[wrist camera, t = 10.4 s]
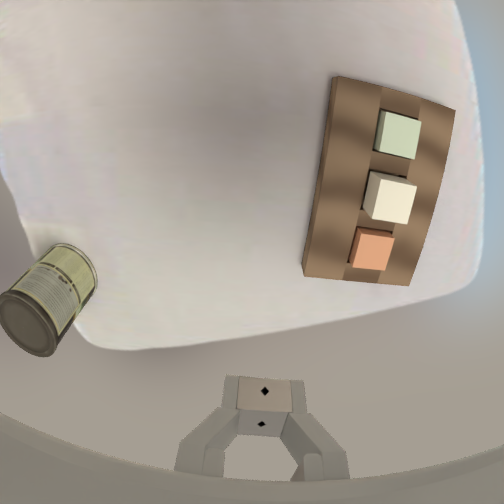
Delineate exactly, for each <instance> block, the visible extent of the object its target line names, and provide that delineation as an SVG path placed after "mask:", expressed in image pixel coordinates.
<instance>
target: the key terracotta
mask: <svg viewBox="0 0 504 504" xmlns="http://www.w3.org/2000/svg"><path fill="white" fill-rule="evenodd" d="M394 239H395V238H394V237H393V235H392V234H391V233H390V232H389V231H388V230H382V229H375V228H369V227H362V226H356V228H355V232H354V237H353V241H352V244H351V248H350V252H349V256H348V259H349V261H350V263H351V265H352V267H355V268H364V269H374V270H383V271H385V269H386V265H387V262H388V259H389V256H390V253H391V250H392V246H393V243H394Z"/></svg>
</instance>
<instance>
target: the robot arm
mask: <svg viewBox="0 0 504 504" xmlns="http://www.w3.org/2000/svg"><path fill="white" fill-rule="evenodd" d="M237 434H239V435H257V436H269V437H280V439H281V440H282V442H283V444H284V445H285V446H286V448H287V449H288V451H289V452H290V454H291V455H292V457H293V458H294V460H295V461H296V463H297V464H298V467H297V469H296V471H295V473H294V474H293V476H292V478H291V480H290V481H259V480H243V479H232V478H223V472H224V461H225V452H224V450H225V449H226V448H227V447H228V446H229V444H230V443H231V442H232V441H233V440H234V438H235V437H236V436H237ZM0 504H504V445H502V446H499V447H496V448H493V449H491V450H488V451H484V452H481V453H478V454H475V455H472V456H469V457H465V458H461V459H458V460H454V461H450V462H447V463H443V464H438V465H434V466H430V467H425V468H420V469H416V470H411V471H405V472H400V473H393V474H387V475H380V476H372V477H364V478H353V479H350V475H349V468H348V461H347V455H346V451H345V450H344V449H343V448H342V447H341V446H340V445H339V444H338V443H337V442H336V441H335V440H334V438H333V437H332V436H331V435H330V434H329V433H328V432H327V431H326V430H325V429H324V428H323V426H322V425H321V424H320V423H319V422H318V421H317V420H316V419H315V418H314V416H313V415H312V414H310V413H307V406H306V398H305V388H304V382H303V381H302V380H288V379H270V378H255V377H246V376H236V375H229V374H226V376H225V382H224V390H223V397H222V405H221V407H217V408H216V409H215V410H214V411H213V412H212V413H211V414H210V415H209V416H208V417H207V418H206V419H204V420H203V421H202V422H201V423H200V424H199V425H198V426H197V427H196V428H195V429H194V430H193V431H192V432H191V433H189V434H188V435H187V436H186V437H185V438H184V439H183V440H182V441H181V442H180V444H179V449H178V453H177V458H176V463H175V467H174V471H173V470H168V469H163V468H158V467H153V466H148V465H144V464H140V463H135V462H131V461H127V460H124V459H120V458H116V457H113V456H109V455H106V454H102V453H99V452H96V451H93V450H90V449H86V448H83V447H80V446H78V445H74V444H72V443H69V442H66V441H64V440H61V439H58V438H56V437H53V436H50V435H48V434H46V433H43V432H41V431H38V430H36V429H34V428H32V427H29V426H27V425H25V424H23V423H21V422H19V421H17V420H14V419H12V418H10V417H8V416H6V415H4V414H2V413H1V412H0Z"/></svg>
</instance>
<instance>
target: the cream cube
mask: <svg viewBox="0 0 504 504" xmlns="http://www.w3.org/2000/svg"><path fill="white" fill-rule="evenodd" d="M416 189H417V186H415V185H414V184H412V183H411V182H409V181H408V180H406V179H405V178H402V177H397V176H392V175H388V174H383V173H378V172H373V171H370V175H369V180H368V185H367V190H366V194H365V199H364V203H363V209H364V210H365V211H366V212H367V213H368V215H369V216H370V217H371V218H372V219H377V220H383V221H389V222H395V223H401V224H407V223H408V219H409V216H410V212H411V208H412V205H413V201H414V197H415V193H416Z"/></svg>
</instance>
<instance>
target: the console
mask: <svg viewBox="0 0 504 504" xmlns="http://www.w3.org/2000/svg"><path fill="white" fill-rule="evenodd" d="M379 111H384V112H389V113H393V114H397V115H400V116H404V117H407V118H411V119H414V120H418V121H421V128H420V134H419V139H418V144H417V149H416V154H415V159H410V158H406V157H402V156H398V155H394V154H389V153H385V152H381V151H378V150H376V149H374V148H373V143H374V137H375V131H376V125H377V119H378V113H379ZM455 111H456V110H453V109H451V108H448V107H445V106H443V105H440V104H437V103H434V102H431V101H428V100H425V99H422V98H419V97H416V96H413V95H410V94H407V93H403V92H400V91H397V90H393V89H390V88H386V87H382V86H379V85H375V84H371V83H367V82H363V81H359V80H354V79H350V78H345V77H341V76H337V77H334V78H332V86H331V93H330V101H329V108H328V115H327V122H326V129H325V135H324V142H323V148H322V154H321V161H320V167H319V173H318V179H317V185H316V190H315V196H314V202H313V207H312V213H311V218H310V224H309V229H308V234H307V239H306V245H305V250H304V255H303V260H302V269H303V274H304V276H305V277H315V278H325V279H335V280H346V281H356V282H367V283H378V284H389V285H401V286H409V284H410V282H411V279H412V276H413V274H414V271H415V268H416V265H417V262H418V260H419V257H420V254H421V251H422V248H423V245H424V242H425V238H426V235H427V232H428V229H429V226H430V222H431V219H432V215H433V212H434V208H435V205H436V201H437V197H438V193H439V190H440V186H441V182H442V177H443V173H444V169H445V164H446V160H447V155H448V150H449V145H450V140H451V135H452V129H453V124H454V117H455ZM370 171H373V172H378V173H383V174H388V175H392V176H397V177H402V178H405V179H406V180H408V181H409V182H411V183H412V184H414V185H415V186H417V189H416V193H415V197H414V201H413V205H412V208H411V212H410V216H409V219H408V223H407V224H401V223H395V222H389V221H383V220H377V219H372V218H371V217H370V216H369V215H368V213H367V212H366V211H365V210H364V209H363V203H364V199H365V194H366V190H367V185H368V180H369V175H370ZM356 226H362V227H369V228H375V229H382V230H388V231H389V232H390V233H391V234H392V235H393V237H394V238H395V239H394V243H393V246H392V250H391V253H390V256H389V259H388V262H387V265H386V269H385V271H383V270H374V269H364V268H355V267H352V265H351V263H350V261H349V259H348V256H349V252H350V248H351V244H352V241H353V237H354V232H355V228H356Z"/></svg>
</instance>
